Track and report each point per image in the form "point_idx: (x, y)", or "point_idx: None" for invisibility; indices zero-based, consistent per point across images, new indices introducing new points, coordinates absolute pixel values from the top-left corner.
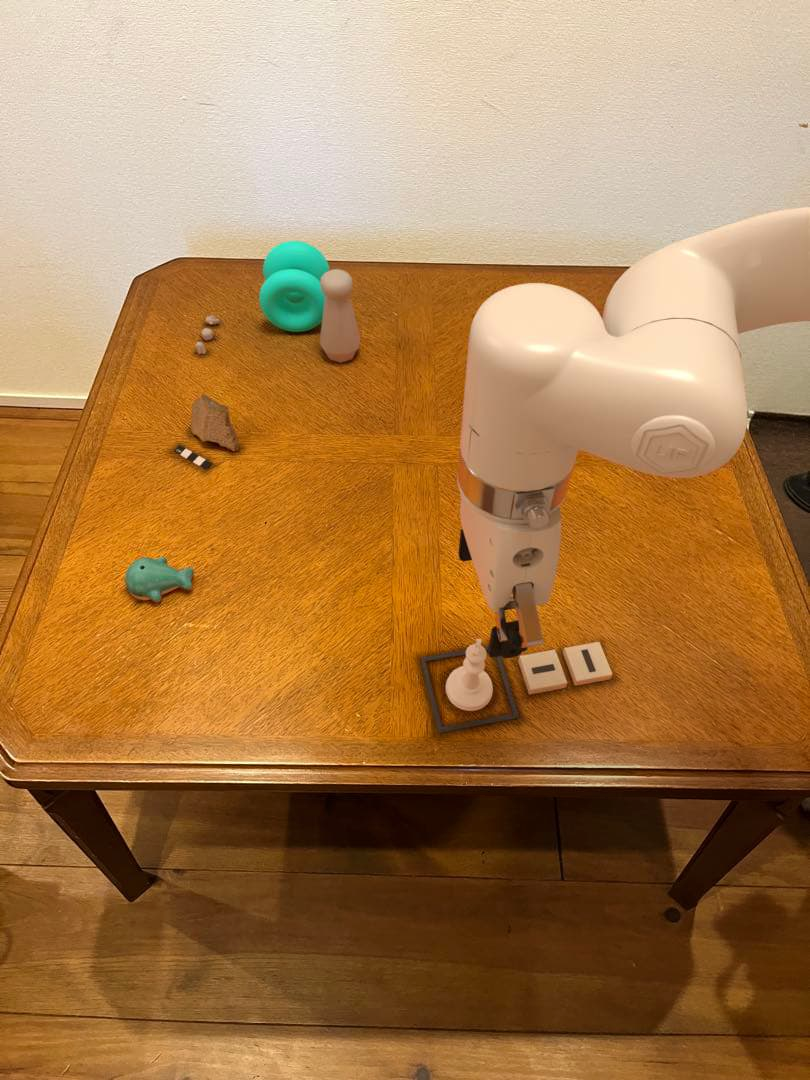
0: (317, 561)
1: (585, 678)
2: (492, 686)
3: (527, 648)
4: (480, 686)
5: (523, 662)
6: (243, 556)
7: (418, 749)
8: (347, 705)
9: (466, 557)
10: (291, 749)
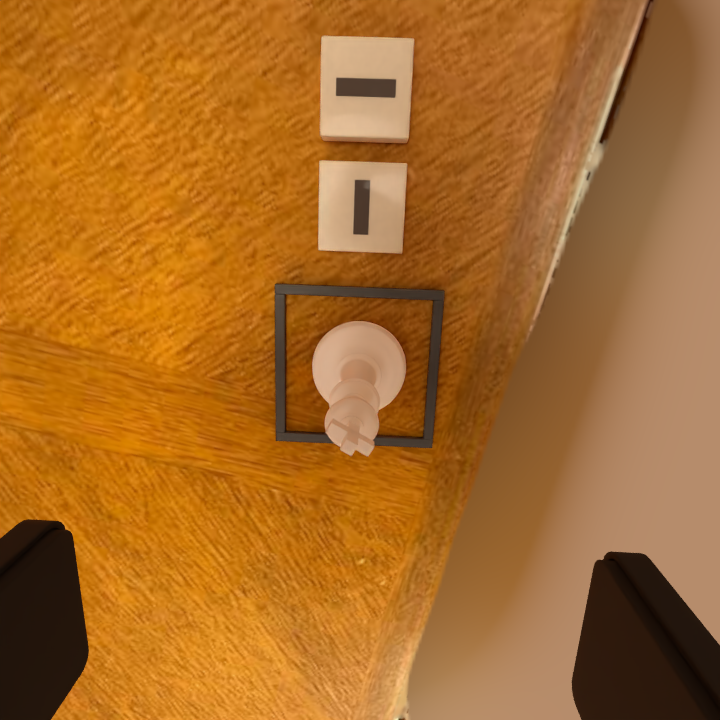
0: None
1: (407, 114)
2: (370, 326)
3: (651, 561)
4: (373, 359)
5: (335, 246)
6: None
7: (449, 484)
8: (340, 573)
9: (69, 666)
10: (393, 661)
